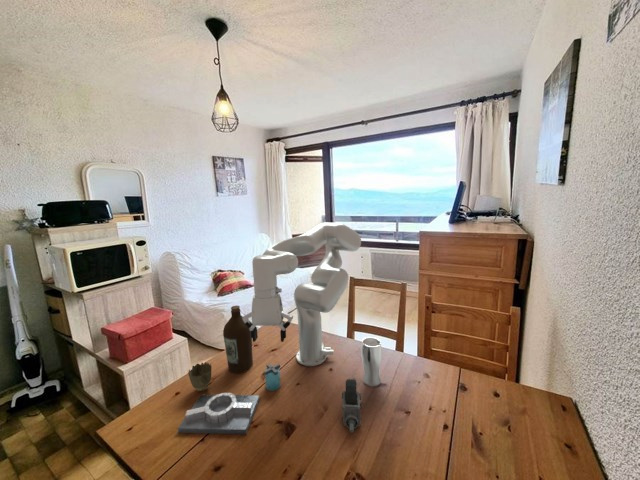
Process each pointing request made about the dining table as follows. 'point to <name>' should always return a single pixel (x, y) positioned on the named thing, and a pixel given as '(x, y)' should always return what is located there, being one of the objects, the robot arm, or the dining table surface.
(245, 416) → the coupling base
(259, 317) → the robot arm
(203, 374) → the cup
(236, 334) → the olive oil
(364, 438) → the dining table surface
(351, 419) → the caster wheel
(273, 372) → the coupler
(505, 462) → the dining table surface
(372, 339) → the beer glass
